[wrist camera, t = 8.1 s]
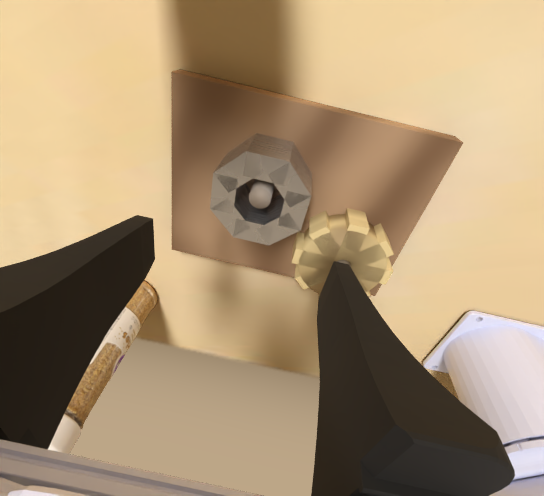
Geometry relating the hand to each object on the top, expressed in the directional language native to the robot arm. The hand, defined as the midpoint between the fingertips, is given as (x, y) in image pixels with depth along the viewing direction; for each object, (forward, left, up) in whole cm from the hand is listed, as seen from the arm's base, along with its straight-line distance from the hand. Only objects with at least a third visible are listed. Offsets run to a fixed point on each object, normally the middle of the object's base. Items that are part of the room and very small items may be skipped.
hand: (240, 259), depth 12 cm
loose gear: (0, 0, -8) cm, 8 cm away
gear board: (-2, +1, -10) cm, 10 cm away
